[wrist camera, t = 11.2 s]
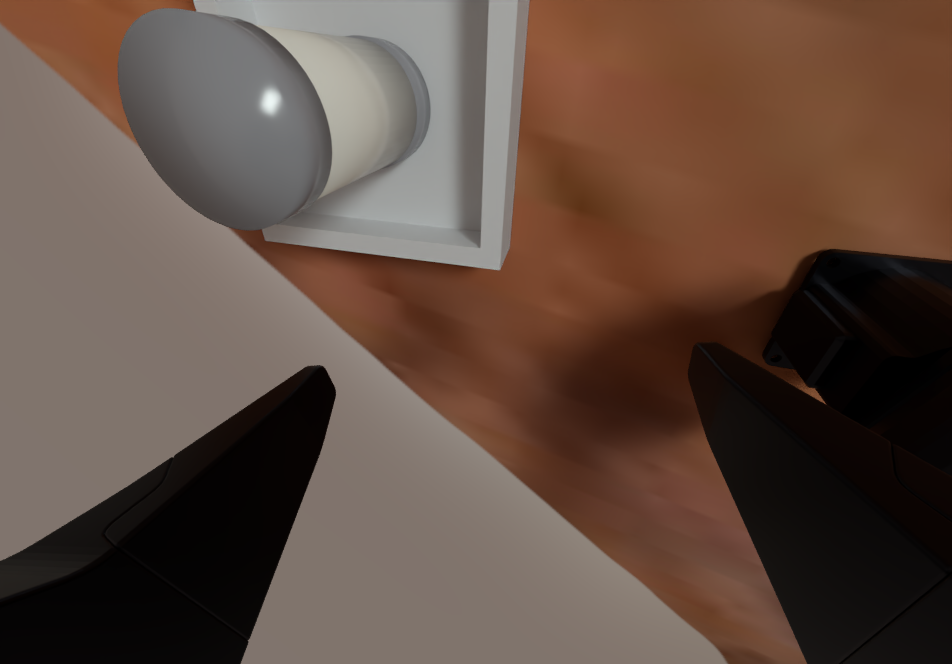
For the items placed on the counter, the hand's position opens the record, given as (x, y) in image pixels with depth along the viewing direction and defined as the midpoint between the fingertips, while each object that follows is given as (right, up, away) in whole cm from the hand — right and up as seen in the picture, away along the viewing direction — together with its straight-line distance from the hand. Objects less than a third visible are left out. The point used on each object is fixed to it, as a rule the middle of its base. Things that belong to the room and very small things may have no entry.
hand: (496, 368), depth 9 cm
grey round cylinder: (-5, +11, +8) cm, 15 cm away
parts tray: (-5, +12, +9) cm, 16 cm away
